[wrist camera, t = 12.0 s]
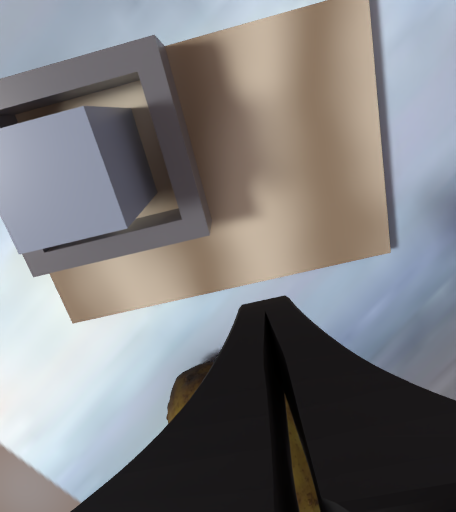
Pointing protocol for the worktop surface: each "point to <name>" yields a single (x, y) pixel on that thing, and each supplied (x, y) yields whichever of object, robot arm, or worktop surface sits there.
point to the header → (167, 130)
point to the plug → (72, 176)
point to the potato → (301, 472)
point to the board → (255, 160)
